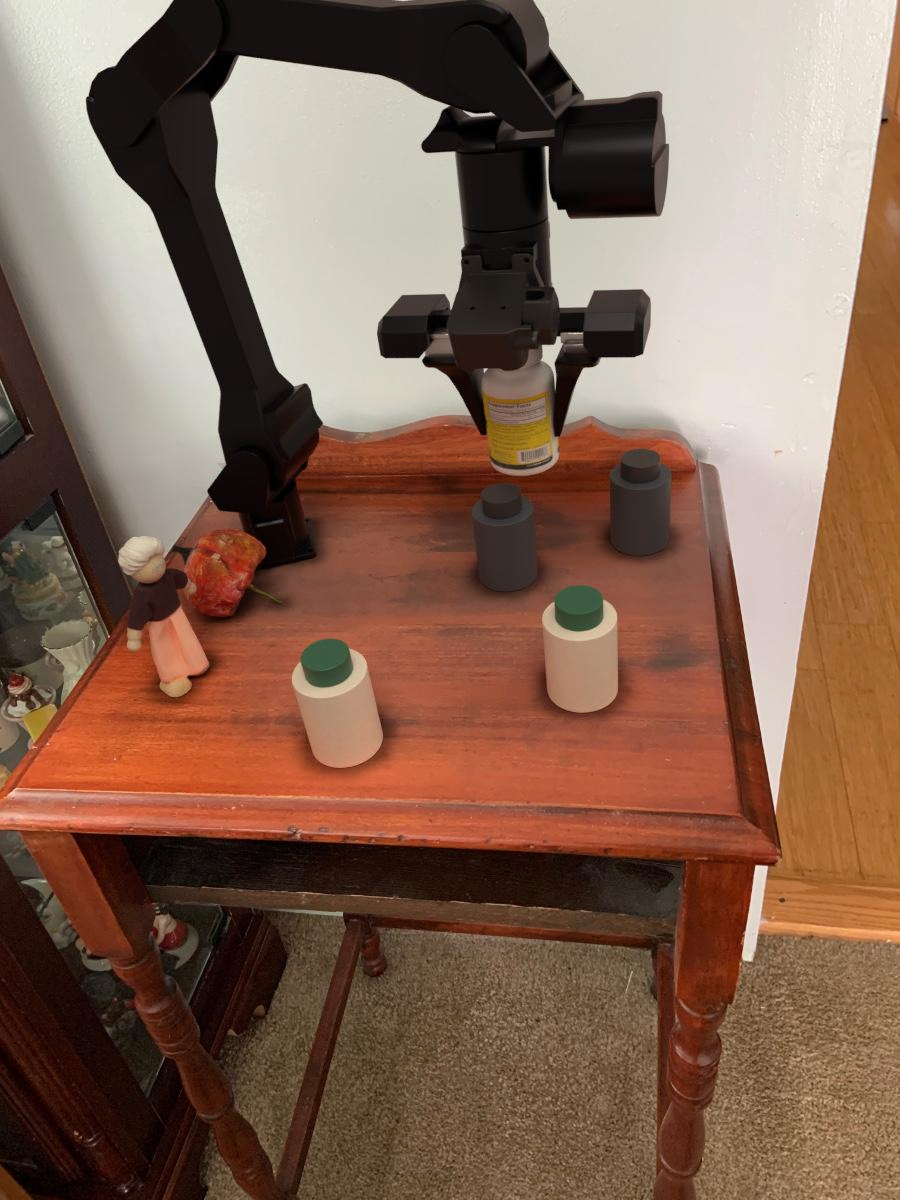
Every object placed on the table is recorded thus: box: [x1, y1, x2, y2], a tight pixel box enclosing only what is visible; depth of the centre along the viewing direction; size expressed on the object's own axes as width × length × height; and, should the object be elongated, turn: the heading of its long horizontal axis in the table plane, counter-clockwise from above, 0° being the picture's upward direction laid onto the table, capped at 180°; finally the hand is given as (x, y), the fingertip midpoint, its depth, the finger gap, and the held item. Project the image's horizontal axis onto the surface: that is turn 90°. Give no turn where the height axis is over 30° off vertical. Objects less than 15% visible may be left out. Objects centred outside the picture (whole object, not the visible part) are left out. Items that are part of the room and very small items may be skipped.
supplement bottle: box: [481, 345, 560, 477], centre depth 68 cm, size 5×5×10 cm
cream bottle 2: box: [541, 584, 619, 714], centre depth 62 cm, size 5×5×8 cm
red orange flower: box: [168, 528, 282, 618], centre depth 76 cm, size 7×7×10 cm
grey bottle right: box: [609, 448, 672, 557], centre depth 76 cm, size 5×5×8 cm
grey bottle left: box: [471, 482, 539, 593], centre depth 75 cm, size 5×5×8 cm
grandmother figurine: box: [117, 535, 210, 698], centre depth 68 cm, size 8×4×13 cm, turn 168°
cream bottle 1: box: [291, 638, 384, 769], centre depth 61 cm, size 5×5×8 cm
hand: (521, 433), depth 69 cm, fingers closed on supplement bottle, 5 cm apart
